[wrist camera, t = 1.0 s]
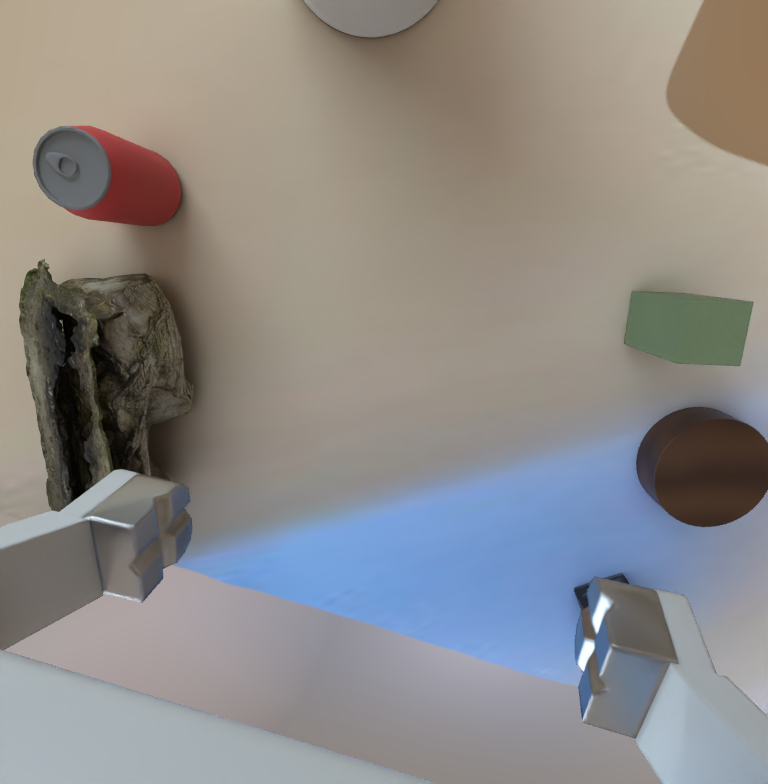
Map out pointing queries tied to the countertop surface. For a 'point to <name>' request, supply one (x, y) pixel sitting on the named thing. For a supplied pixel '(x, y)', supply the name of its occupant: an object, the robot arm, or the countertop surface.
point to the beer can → (105, 177)
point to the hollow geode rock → (99, 375)
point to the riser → (704, 466)
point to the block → (688, 327)
